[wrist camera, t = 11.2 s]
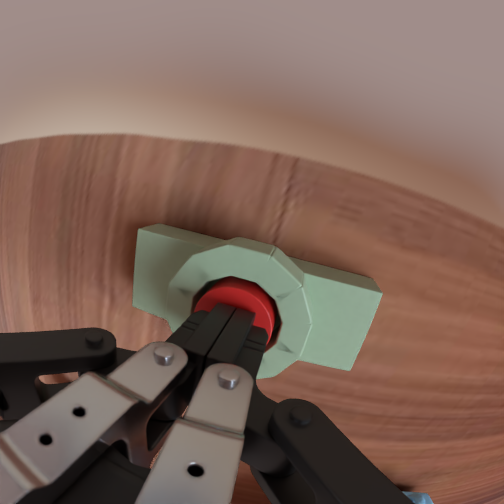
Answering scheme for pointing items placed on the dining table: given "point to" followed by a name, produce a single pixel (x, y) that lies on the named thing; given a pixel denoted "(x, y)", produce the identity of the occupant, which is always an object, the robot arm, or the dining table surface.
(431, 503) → the teapot
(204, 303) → the button
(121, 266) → the dining table surface
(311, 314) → the button box
